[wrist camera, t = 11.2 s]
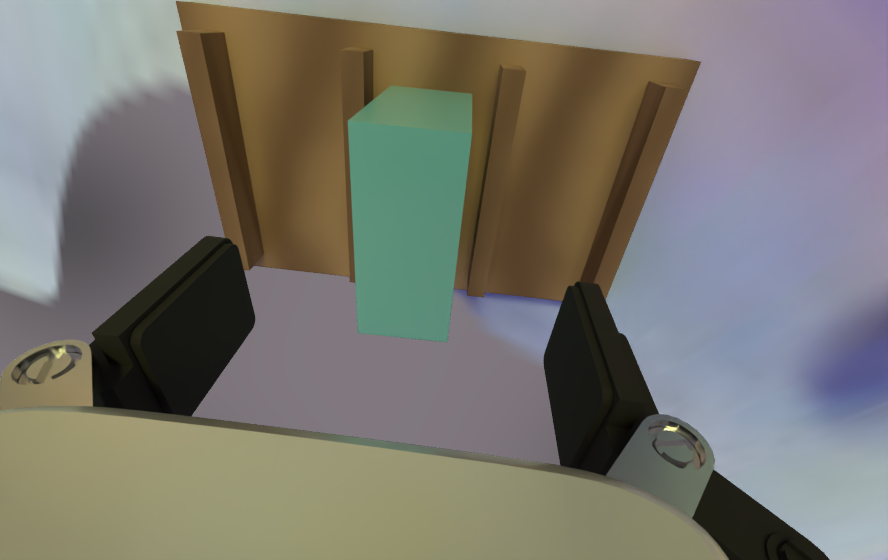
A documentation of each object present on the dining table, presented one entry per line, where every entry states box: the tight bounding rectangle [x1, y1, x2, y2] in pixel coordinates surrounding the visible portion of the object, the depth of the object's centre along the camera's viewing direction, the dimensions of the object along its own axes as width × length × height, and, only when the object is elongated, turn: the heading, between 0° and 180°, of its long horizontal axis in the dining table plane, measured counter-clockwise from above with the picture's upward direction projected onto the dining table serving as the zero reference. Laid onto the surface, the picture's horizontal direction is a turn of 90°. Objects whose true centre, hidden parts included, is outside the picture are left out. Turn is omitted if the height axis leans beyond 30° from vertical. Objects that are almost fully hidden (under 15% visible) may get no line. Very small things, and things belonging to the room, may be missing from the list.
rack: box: [176, 1, 701, 301], centre depth 21 cm, size 24×14×3 cm, turn 85°
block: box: [348, 86, 472, 342], centre depth 18 cm, size 4×9×8 cm, turn 175°
